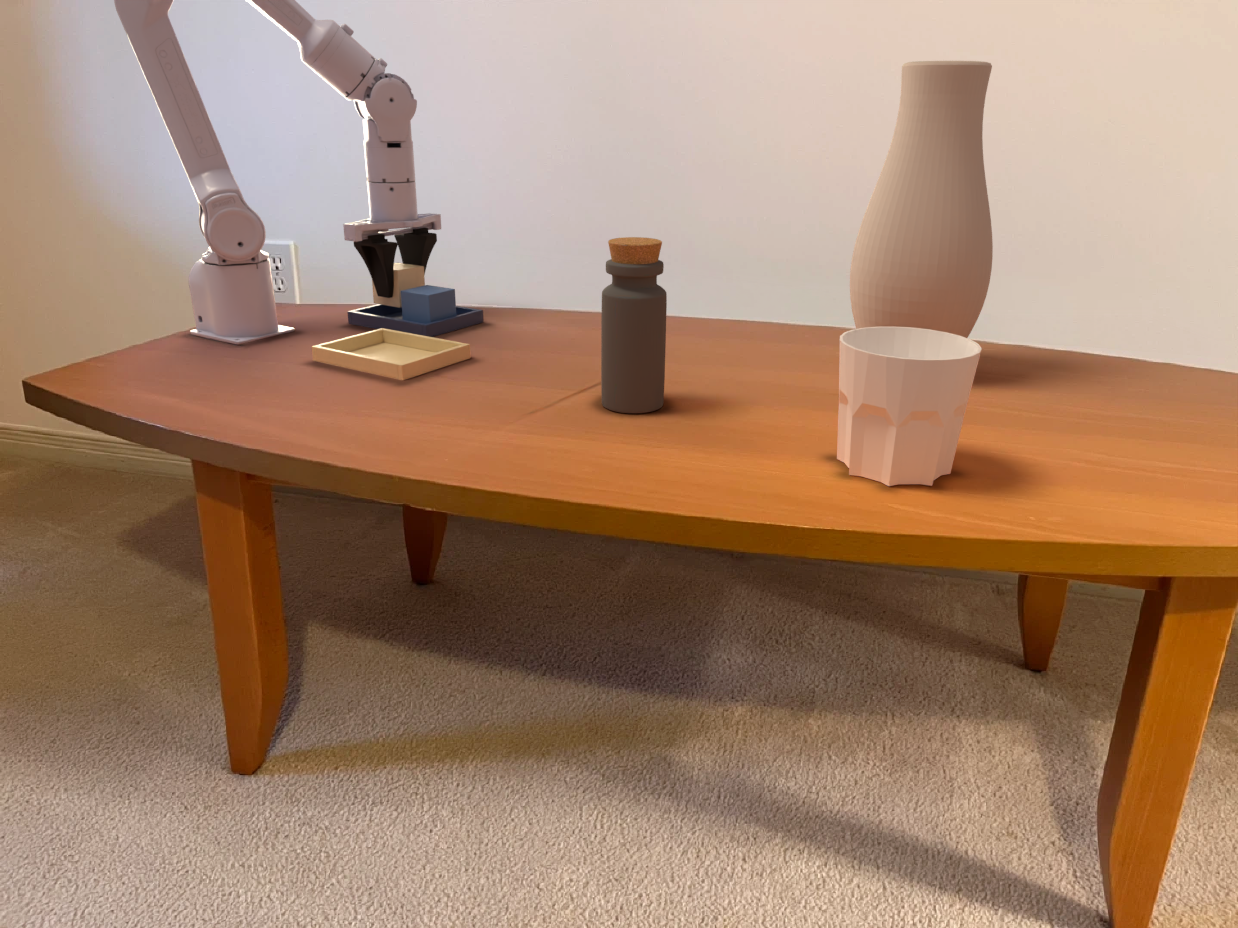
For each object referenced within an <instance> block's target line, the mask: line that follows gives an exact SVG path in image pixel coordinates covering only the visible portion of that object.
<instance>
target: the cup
mask: <svg viewBox="0 0 1238 928" xmlns="http://www.w3.org/2000/svg"><path fill="white" fill-rule="evenodd" d="M982 349H983V348H982V347H981V345H980V344H979V343H978V342H976V341H975V340H973V339H971V338H969V337H968V338H965V337H962V336H959V335H955V334H951V333H947V332H941V331H936V330H930V329H921V328H911V327H867V328H859V329H856V328H855V329H850V330H846V331H844V332H843V333H841V334H840V335H839V358H838V359H839V361H838V363H839V364H838V367H839V368H838V374H839V375H838V408H837V409H838V412H837V415H838V416H837V445H836V460H838V461H840V462H842V463H844V464H845V465H846V467H847V468H848V476H855V477H862V478H866V479H869V480H872V481H876V482H879V483H881V484H883V485H885V486H887V487H893V486H897V485H923V486H930V487H932V486H933V484H934V481H935V480H936V479H938V478H939V477H941V476H946V475H950V474H951V473H952V469H953V466H954V465H953V464H954V462H955V461H954V460H955V456H956V452H957V447H958V444H959V440H960V435H961V432H962V428H963V425H964V424H963V423H964V419H965V414H966V411H967V407H968V404H969V399H970V395H971V393H972V392H971V391H972V387H973V384H974V380H975V376H976V372H977V368H978V364H979V361H980V356H981V353H982Z"/></svg>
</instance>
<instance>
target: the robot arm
mask: <svg viewBox="0 0 1238 928" xmlns="http://www.w3.org/2000/svg"><path fill="white" fill-rule="evenodd" d="M113 2H114V7H115V11H116V13H117V15H118V18H119V20H120V23H121V25H122V27H123V30H124V32H125V34H126V36H127V39H128V41H129V44H130V46H131V48H132V51H133V53H134V55H135V57H136V60H137V62H138V64H139V66H140V70H141V72H142V74H143V76H144V79H145V81H146V83H147V86H148V88H149V90H150V92H151V95H152V97H153V99H154V102H155V104H156V106H157V110H158V111H159V114H160V116H161V118H162V120H163V123H164V126H165V127H166V130H167V132H168V134H169V137H170V140H171V141H172V144H173V146H174V148H175V151H176V153H177V155H178V157H179V160H180V163H181V165H182V167H183V169H184V172H185V174H186V177H187V178H188V181H189V184H190V186H191V189H192V191H193V194H194V197H195V198H196V201H197V204H198V209H199V212H198V213H199V214H198V226H199V230H200V232H201V235H202V236H203V238H204V240H205V241H206V244H207V245H208V247H207V248H206V250H205V251H204V252H203V253H202V254H201V258H200V259H198V260H197V261H195V263H194V264H193V265H192V267H191V269H190V271H189V274H188V288H189V295H190V300H191V306H192V311H193V318H194V323H195V329H191V330H189V334H190V335H191V336H196V337H201V338H205V339H210V340H215V341H220V342H224V343H228V344H232V345H237V346H241V345H242V344H245V343H250V342H254V341H258V340H262V339H267V338H271V337H275V336H278V335H284V334H288V333H292V332H295V331H296V328H294V327H292V326H286V325H281V324H279V321H278V314H277V313H278V312H277V305H276V298H275V291H274V283H273V275H272V268H271V260H270V255H269V252H266V251H264V250H262V249H263V247H264V245H265V242H266V236H267V234H266V233H267V232H266V227H265V224H264V221H263V220H262V218H261V217H260V215H259V214H258V213H257V212H256V211H255V210H254V209H253V208H252V207H250V206H249V204H248V203H247V202H246V199H245V198H244V196H243V194H242V191H241V189H240V186H239V184H238V182H237V180H236V178H235V176H234V174H233V172H232V170H231V167H230V164H229V162H228V160H227V157H226V156H225V153H224V150H223V148H222V146H221V143H220V140H219V137H218V135H217V133H216V131H215V128H214V125H213V123H212V120H211V118H210V116H209V113H208V111H207V108H206V106H205V104H204V100H203V98H202V96H201V94H200V91H199V88H198V86H197V84H196V81H195V79H194V76H193V73H192V71H191V69H190V66H189V64H188V61H187V59H186V57H185V54H184V51H183V49H182V47H181V44H180V42H179V39H178V37H177V34H176V32H175V30H174V26H173V25H172V22H171V19H170V17H169V11H170V10H171V7H172V5H173V3H174V2H175V0H113ZM245 2H247V3H248V4H250V5H251V6H252V7H253V8H254V9H256V10H257V11H258V12H259V13H260V14H262V15H263V16H264V17H266V18H267V19H268V20H269V21H270V22H272V23H273V24H274V25H276V26H277V27H278V28H279V29H280V30H282V31H283V32H284V33H285V34H286V35H287V36H289V37H290V38H291V39H292V40H294V41H295V42H296V43H297V46H298V50H299V56H300V60H301V62H302V63H303V64H304V65H305V66H306V67H308V68H309V69H310V70H311V71H312V72H314V73H315V74H316V75H317V76H319V78H321V79H322V80H323V81H324V82H325V83H327V84H328V85H329V86H330V87H331V88H333V90H335V91H336V92H337V93H338V94H340V95H341V96H342V97H343V98H344V99H345V100H347V101H349V102H350V101H353V104H354V108H355V111H356V112H357V114H358V116H359V117H360V118H362V127H363V138H364V139H363V150H364V151H363V152H364V161H365V173H366V186H367V187H366V188H367V196H368V197H367V198H368V209H369V218H364V219H360V220H357V221H353V222H346V223H343V224H342V226H343V237H344V241H347V242H353V247H354V248H355V250H356V251H357V253H358V254H359V256H360V257H361V259H362V261H363V262H364V264H365V266H366V268H367V269H368V270H367V271H368V273H369V276H370V277H371V281H372V280H373V283H374V286H375V289H376V292H377V295H378V296H380V297H386V298H391V297H393V290H394V276H393V268H394V263H395V257H396V253H397V249H398V250H399V253H400V258H401V263H404V264H411V265H419V266H424V276H425V275H426V271H427V265H428V263H429V259H430V257H431V254H432V251H433V250H434V247H435V246H436V243H437V242H438V236H437V233H435V232H429V231H431V230H432V231H439V230H440V231H441V230H442V217H441V214H440V213H434V212H433V213H432V212H427V213H418V199H417V189H416V188H417V187H416V170H415V156H414V155H415V154H414V153H415V152H414V142H413V136H412V123H411V121H412V119H413V118H414V117H415V114H416V112H417V107H418V100H417V99H416V98H415V96H414V93H413V92H412V88H411V86H410V84H409V83H408V82H407V81H406V80H405V79H404V78H402V77H401V76H399V75H397V74H393V73H389V72H386V68H387V66H388V63H387V62H386V61H385V60H384V59H383V58H382V57H380V58H378V59H377V58H376V57H375V56H373V54H371V53H370V52H369V51H368V50H367V49H366V48H365V47H363V46H362V44H360V43H359V42H358V41H357V40H355V39H354V37H352V35H354V30H353V29H352V28H351V27H350V26H349V25H348V24H347V23H342V24H340V25H339V24H338V23H337V22H336V21H335V20H334V19H316V18H315V17H313V16H312V15H311V14H310V12H308V11H307V9H305V8H304V7H303V6H302V5H300V3H299V2H297V0H245ZM389 236H390V237H391V236H394V239H395V241H388V240H389V239H388V238H386V237H389Z"/></svg>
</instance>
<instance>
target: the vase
mask: <svg viewBox="0 0 1238 928" xmlns="http://www.w3.org/2000/svg"><path fill="white" fill-rule="evenodd" d="M992 69H993V65H992V63H991V62H988V61H982V60H980V61H979V60H923V61H922V60H919V61H918V60H917V61H908V62H904V63H903V64H902V66H901V80H900V81H901V84H900V97H899V105H898V112H897V117H896V122H895V127H894V130H893V135H892V138H891V142H890V145H889V148H888V151H887V154H886V157H885V159H884V162H883V166H882V168H881V171H880V174H879V176H878V178H877V180H876V184H875V187H874V189H873V191H872V194H871V195H870V199H869V200H868V204H867V207H866V210H865V212H864V215H863V217H862V221H861V223H860V226H859V229H858V233H857V236H856V239H855V243H854V247H853V251H852V257H851V262H850V271H849V297H850V306H851V313H852V318H853V321H854V325H855V329H859V328H867V327H911V328H921V329H930V330H936V331H941V332H947V333H951V334H955V335H959V336H962V337H965V338H968V339H969V336H970V334H971V333H972V331H973V329H974V327H975V325H976V323H977V321H978V319H979V316H980V315H981V313H982V310H983V307H984V305H985V301H986V298H987V295H988V291H989V287H990V282H991V276H992V268H993V255H994V254H993V252H994V251H993V247H994V245H993V229H992V219H991V218H992V217H991V209H990V201H989V195H988V187H987V186H988V185H987V179H986V172H985V161H984V160H985V159H984V148H983V147H984V146H983V145H984V142H983V130H984V129H983V128H984V127H983V126H984V125H983V124H984V111H985V104H986V96H987V92H988V87H989V82H990V77H991V73H992Z"/></svg>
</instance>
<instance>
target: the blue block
mask: <svg viewBox="0 0 1238 928" xmlns="http://www.w3.org/2000/svg"><path fill="white" fill-rule="evenodd" d="M401 303H402V315H403V320H407V321H413V322H419V323H424V324H427V323H431V322H434V321H438V320H442V319H445V318H449V317H453V316H456V306H457V301H456V290H455V288H451V287H444V286H438V285H430V284H425V286H420V287H416V288H411V289H407V290H402V291H401Z"/></svg>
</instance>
